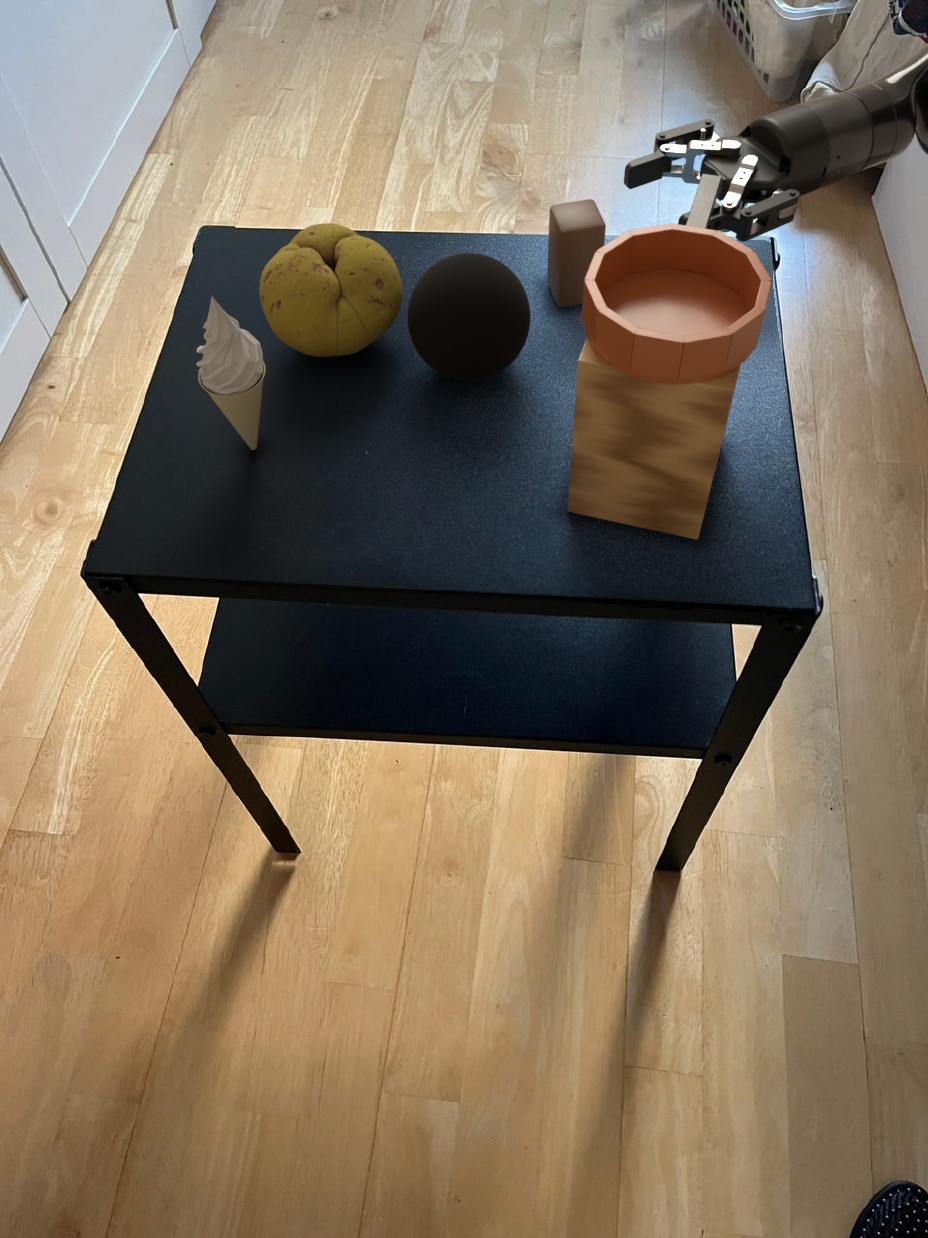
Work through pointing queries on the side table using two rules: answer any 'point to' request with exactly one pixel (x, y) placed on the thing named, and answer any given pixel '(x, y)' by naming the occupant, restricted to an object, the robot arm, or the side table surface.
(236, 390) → the ice cream cone
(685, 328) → the pan
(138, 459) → the side table surface
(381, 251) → the fruit
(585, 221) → the wooden block
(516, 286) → the decorative ball
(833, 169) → the robot arm
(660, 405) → the stand
